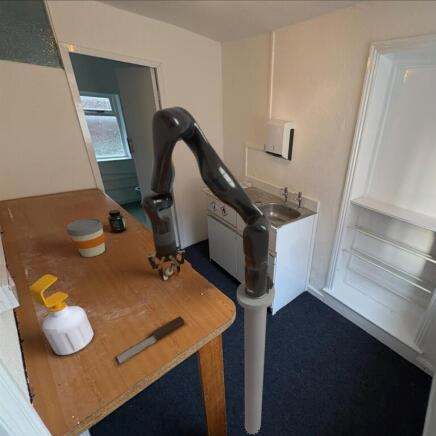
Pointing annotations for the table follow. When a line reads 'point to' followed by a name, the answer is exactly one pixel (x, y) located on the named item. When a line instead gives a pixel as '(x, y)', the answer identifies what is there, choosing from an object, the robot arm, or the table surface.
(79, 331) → the soap bottle
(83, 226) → the reusable coffee cup
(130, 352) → the knife
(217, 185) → the robot arm
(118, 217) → the supplement bottle
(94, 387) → the table surface
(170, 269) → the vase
